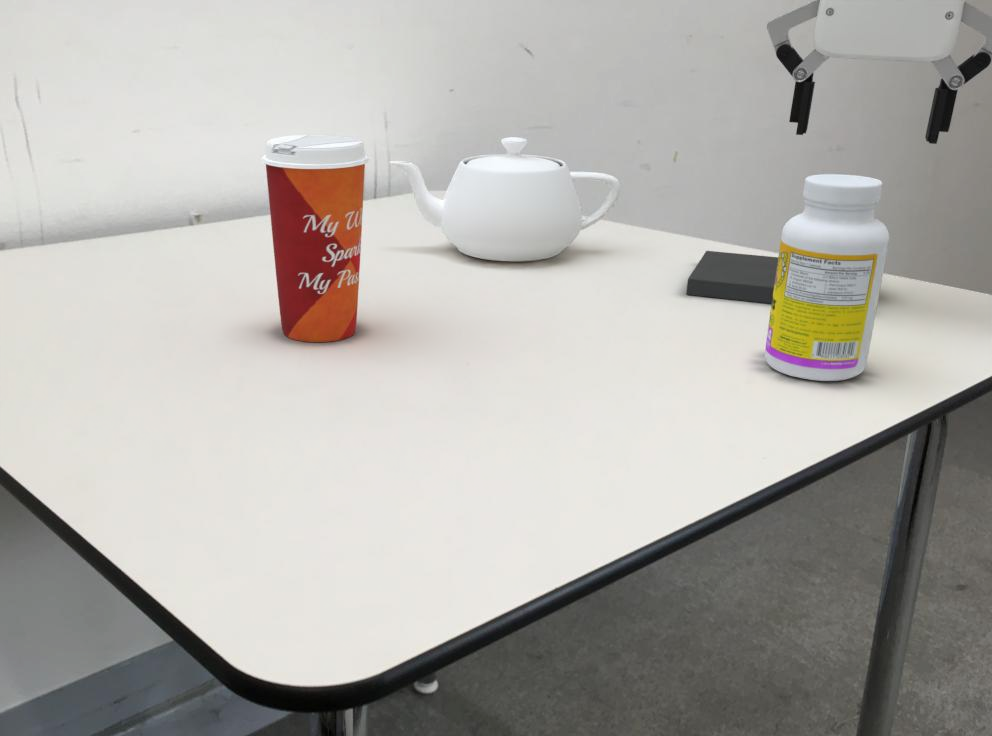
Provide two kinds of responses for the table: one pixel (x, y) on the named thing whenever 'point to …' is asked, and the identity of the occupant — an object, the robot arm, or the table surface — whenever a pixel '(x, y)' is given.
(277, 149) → the paper cup
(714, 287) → the scale
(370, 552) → the table surface
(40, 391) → the table surface
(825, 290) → the supplement bottle
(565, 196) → the teapot
